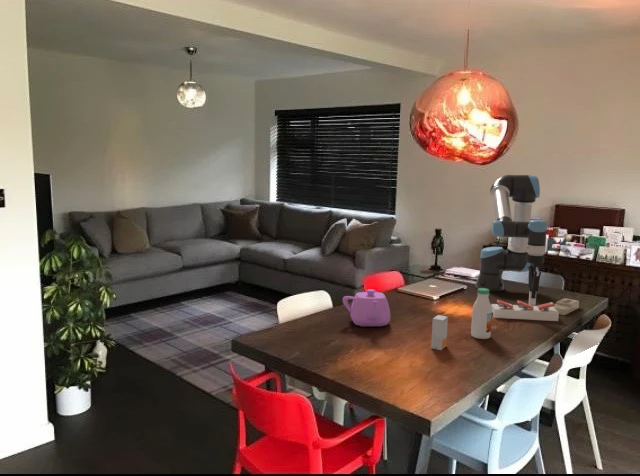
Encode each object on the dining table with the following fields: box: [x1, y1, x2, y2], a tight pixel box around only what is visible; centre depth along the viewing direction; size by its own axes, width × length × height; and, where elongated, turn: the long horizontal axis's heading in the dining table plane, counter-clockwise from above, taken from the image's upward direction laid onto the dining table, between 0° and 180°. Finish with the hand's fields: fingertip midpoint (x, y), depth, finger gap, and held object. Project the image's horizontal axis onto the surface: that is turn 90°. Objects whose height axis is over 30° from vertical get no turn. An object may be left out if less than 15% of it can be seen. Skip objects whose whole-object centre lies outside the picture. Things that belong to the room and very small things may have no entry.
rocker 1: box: [496, 299, 514, 308], centre depth 244 cm, size 3×7×1 cm, turn 81°
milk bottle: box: [470, 288, 493, 340], centre depth 216 cm, size 8×8×20 cm
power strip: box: [490, 303, 560, 322], centre depth 246 cm, size 9×35×5 cm, turn 82°
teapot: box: [342, 289, 391, 328], centre depth 229 cm, size 23×21×15 cm
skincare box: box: [430, 314, 449, 351], centre depth 204 cm, size 6×4×12 cm
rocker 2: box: [516, 299, 534, 310], centre depth 243 cm, size 3×7×1 cm, turn 82°
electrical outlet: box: [553, 297, 580, 316], centre depth 256 cm, size 7×4×18 cm
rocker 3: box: [536, 301, 555, 310], centre depth 242 cm, size 3×7×1 cm, turn 82°
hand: (532, 304), depth 243 cm, fingers closed
